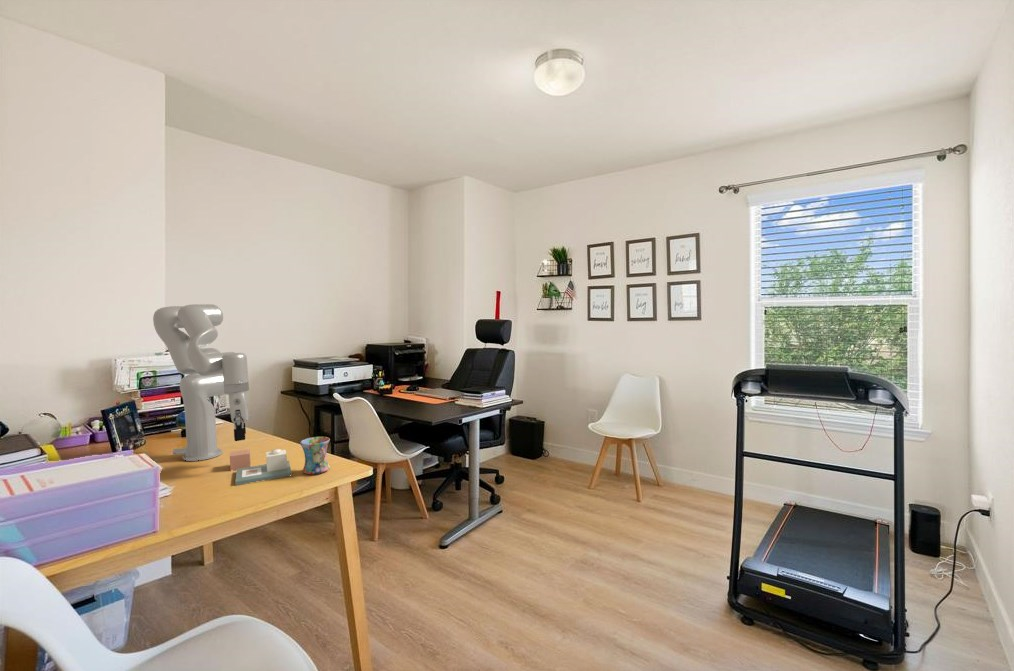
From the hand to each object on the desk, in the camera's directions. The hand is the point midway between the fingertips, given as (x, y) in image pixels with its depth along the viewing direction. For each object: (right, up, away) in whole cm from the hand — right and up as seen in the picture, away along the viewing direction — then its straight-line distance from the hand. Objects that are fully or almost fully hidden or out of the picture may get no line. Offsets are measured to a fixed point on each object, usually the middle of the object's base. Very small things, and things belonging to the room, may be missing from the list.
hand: (240, 437), depth 165 cm
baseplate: (+12, -11, -7) cm, 17 cm away
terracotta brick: (0, -11, +1) cm, 11 cm away
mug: (+30, -11, -7) cm, 32 cm away
